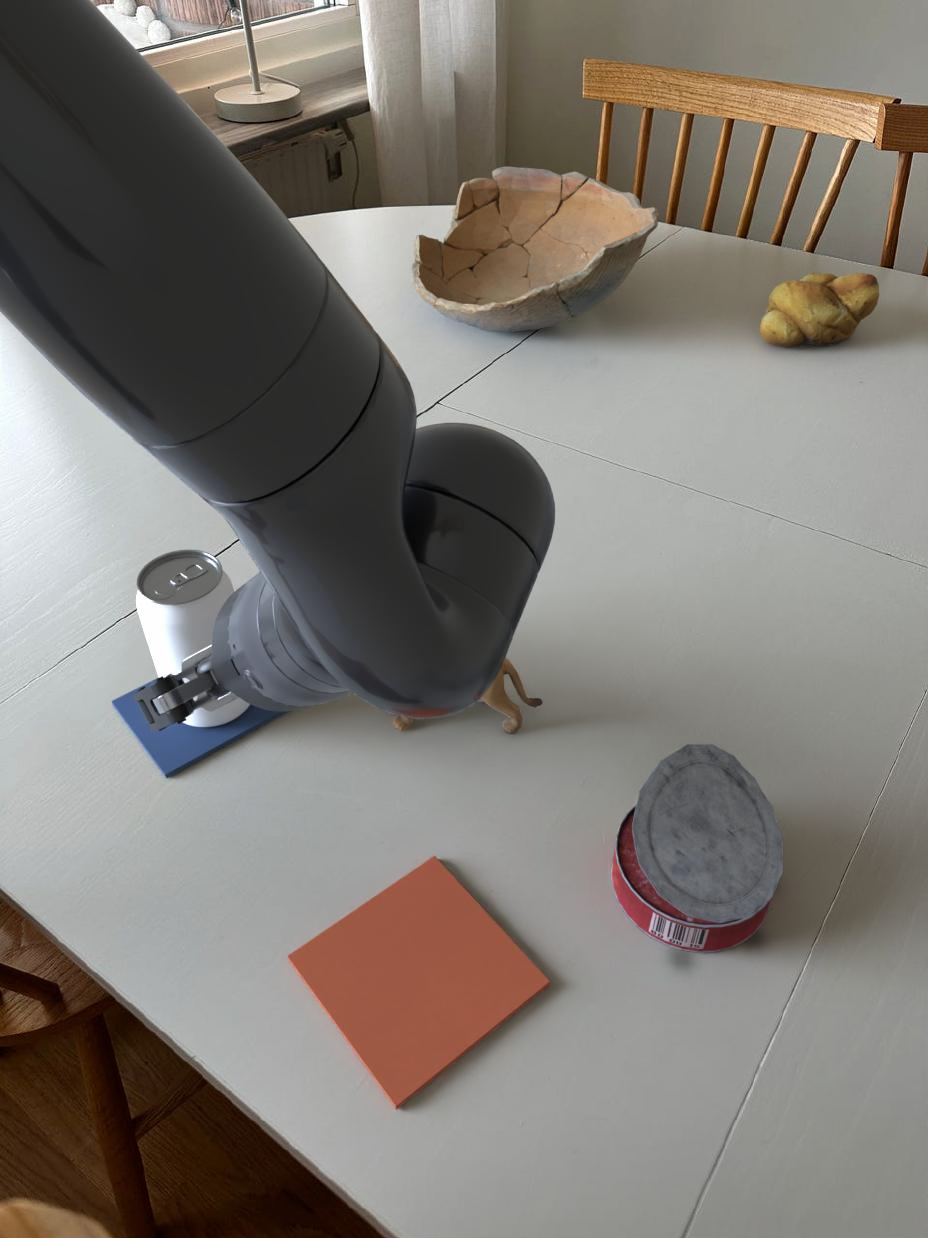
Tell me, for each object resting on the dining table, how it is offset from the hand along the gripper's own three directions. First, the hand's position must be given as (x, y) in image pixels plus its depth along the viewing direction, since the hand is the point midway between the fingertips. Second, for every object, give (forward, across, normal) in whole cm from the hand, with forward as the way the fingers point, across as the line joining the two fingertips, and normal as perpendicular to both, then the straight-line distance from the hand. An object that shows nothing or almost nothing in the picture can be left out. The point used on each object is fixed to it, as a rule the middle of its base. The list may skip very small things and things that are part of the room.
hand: (231, 667), depth 64 cm
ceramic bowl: (+35, -63, -23) cm, 76 cm away
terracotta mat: (-9, +1, +21) cm, 23 cm away
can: (+10, 0, +2) cm, 10 cm away
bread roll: (+16, -82, -4) cm, 84 cm away
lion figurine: (+2, -12, +10) cm, 16 cm away
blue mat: (+10, 0, +2) cm, 10 cm away
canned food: (-13, -16, +25) cm, 33 cm away
